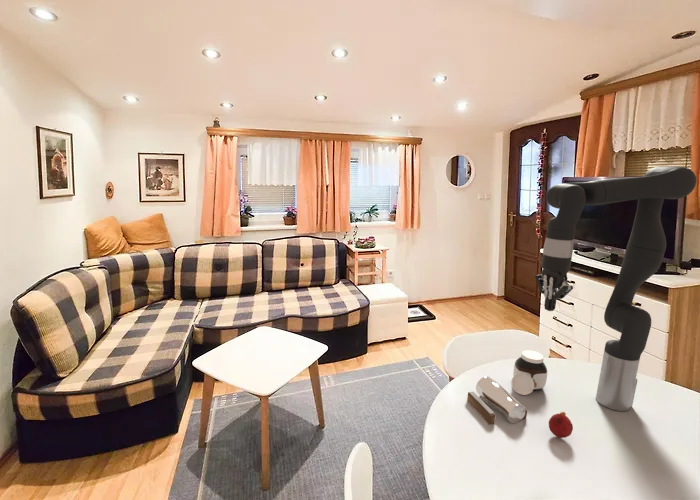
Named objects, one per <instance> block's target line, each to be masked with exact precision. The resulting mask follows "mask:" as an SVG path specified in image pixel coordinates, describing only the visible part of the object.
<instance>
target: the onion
mask: <svg viewBox="0 0 700 500" xmlns="http://www.w3.org/2000/svg"><path fill="white" fill-rule="evenodd" d="M566 414H567V413H566V412H565V411H561V412H560V413H555V414H553V415H552V416H551V417H550V418H549V420H548V428H549V431H550V432H551V434H553V436H555V437H556V438H558V439H564V438H568V437H570V436H571V435H572V432H573V431H574V430H573V429H574V426H573V423H572V421H571V419H570V418H569V417H568V416H566Z"/></svg>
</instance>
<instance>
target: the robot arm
mask: <svg viewBox="0 0 700 500" xmlns="http://www.w3.org/2000/svg"><path fill="white" fill-rule="evenodd" d="M696 185H697V176H696V174H695V172H694V171H693V170H692V169H690V168H688V167H684V166H655V167H652V168H650V169H649V170H648V171H646V172H645V175H643V176H636V177H635V176H634V177H633V176H631V177H613V178H604V179H597V180H591V181H584V182H565V183H558V184H555V185H552V186H551V187H550V188H549V189H548V190H547V192H546V195H545V199H546V202H547V203H548V205H549V206H550V207H552V208H555V209H558V212H557V214H556V216H554V217H552V218H550V219H549V220H548V222H547V228H546V229H547V230H546V235H545V240H544V243H543V244H544V245H543V250H542V257H541V263H540V267H541V268H542V270H541V273H540V274H535V281H536V284H537V287H538V289H539V292H540V294H543V295H544V298H545V299H544V303H543V304H544V310H546V311H548V312H553V311H554V310H555V309H556V306H557V300H561V299H562V300H563V299H564V298H565V297H566V296H568V294H569V293H570V292H571V291H573V290H574V285H570V284H569V282H568V273H569V272H570V270H571V265H572V258H573V252H574V241H575V239H574V237H575V233H576V226H577V224H578V221H579V219H580V217H581V216H582V213H583V210H584V208H585V206H601V205H607V204H613V203H614V204H615V203H620V202H628V201H634V200H635V201H636V200H637V207H636V212H635V217H634V220H633V224H632V229H631V232H630V236H629V239H628V241H627V245H626V249H625V252H624V255H623V260H622V263H621V267H620V270H619V272H618V273H619V274H618V276H617V280H616V282H615V286H614V288H613V290H612V293H611V295H610V298H609V300H608V302H607V304H606V308H605V310H604V315H603V316H604V317H603V319H604V323H605V325H606V326H607V327H609V328H610V329H612V330H614V331H616V332H618V333H621V335H620V338H619V339H610V340H607V341H606V342H605V346H604V349H603V356H602V362H601V366H600V373H599V378H598V384H597V387H596V388H597V389H596V393H595V394H596V395H595V401H597V402H598V403H599V404H600V405H601V406H602V407H605V408H606V409H610V410H613V411H617V412H628V411H629V410H630V408H632V407H633V404H634V401H635V400H634V399H635V395H636V394H635V393H636V391H637V390H636V389H637V385H638V379H637V376H638V375H637V374H638V370H639V369H638V368H639V365H640V360H641V356H642V353H643V352H644V351H645V349H646V346H647V341H648V338H649V335H650V332H651V329H652V317H651V314H650V313H649V312H648V311H647V310H645V309H644V308H643V309H642V308H640V307H638V306H635V305H633V302H634V298H635V296H636V293H637V291H638V290H639V288H640V287H641V286H642V285H643V284H644V283H645V282H646V281H647V280H648V279H650V278H652V276H653V275H654V274H655V273H657V272H658V270H659V269H660V267H661V265H662V262H663V260H664V256H665V252H666V249H667V237H666V235H665V231H664V227H663V224H662V220H661V217H662V216H661V213H662V208H663V205H664V201H665V200H678V199H679V200H680V199H684V198H685V197H687V196H688V195H690V194H691V193H692V192H693V191H694V189H695V188H696Z"/></svg>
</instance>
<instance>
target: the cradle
mask: <svg viewBox="0 0 700 500" xmlns="http://www.w3.org/2000/svg"><path fill="white" fill-rule="evenodd" d="M508 394H509V395H510V396H511V397H512V398H513V399H514V400H515V401H516V402H518V403H520V402H519V401H518V400H517V399H516V398H515V397H514V396H512V395H511V394H510V393H509V392H508ZM466 401H467V402H468V404H469V405H471V407H472V408H473V409H474V410H475V411H476V412H477V413H478V415H479V416H480V417H481V418H482V419H483V420H484V421H485V423H487V424H488V425H489V426H490V425H495V421H496V414H495V412H494V411H493V410H492V409H491V408H490V407H489V406H488V405H487V404H486V403H485V402H484V400H482V398H481V397H479V396H478V395H477V394H476V393H475V392H474V391H469V392H467V398H466ZM527 416H528V409H527V408H526V407H525V415H524V417H523V418H522V420H521V421H523V420H527Z"/></svg>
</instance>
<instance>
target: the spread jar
mask: <svg viewBox="0 0 700 500" xmlns="http://www.w3.org/2000/svg"><path fill="white" fill-rule="evenodd" d="M512 374H513V377H512V379H511V387H512V389H513V390H514V392H516V393H517V394H519V395H523V396H526V395H529V394H531V393H532V392H538V391H541V390H542V389H544V388H545V386H546V384H547V379H548V368H547V365H546V363H545V362H544V355H543V354H541V353H540V352H538V351H535V350H523V351H522V352H521V356H520V357H518V358H517V359H516V360H515V362H514V365H513V373H512Z"/></svg>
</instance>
